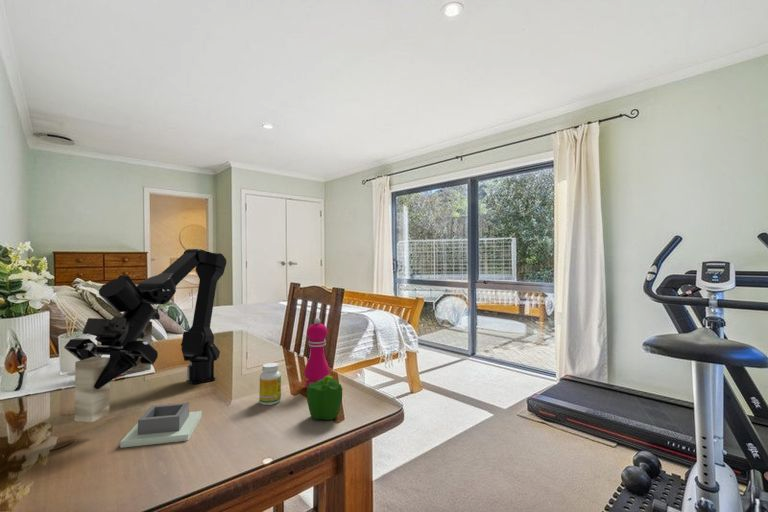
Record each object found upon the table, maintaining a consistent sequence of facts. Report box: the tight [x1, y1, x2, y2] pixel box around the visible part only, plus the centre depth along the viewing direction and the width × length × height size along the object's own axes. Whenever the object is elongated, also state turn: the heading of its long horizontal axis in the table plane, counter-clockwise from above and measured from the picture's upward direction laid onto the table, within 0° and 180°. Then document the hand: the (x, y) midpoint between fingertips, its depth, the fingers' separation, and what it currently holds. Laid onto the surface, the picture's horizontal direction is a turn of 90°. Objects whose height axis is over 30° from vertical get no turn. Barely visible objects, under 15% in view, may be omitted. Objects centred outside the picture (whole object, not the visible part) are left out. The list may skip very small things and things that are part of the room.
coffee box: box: [120, 320, 153, 376], centre depth 121 cm, size 9×6×16 cm
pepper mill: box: [303, 317, 330, 389], centre depth 106 cm, size 7×7×20 cm
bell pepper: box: [306, 374, 343, 421], centre depth 86 cm, size 8×8×10 cm
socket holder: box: [119, 402, 203, 449], centre depth 78 cm, size 12×12×4 cm
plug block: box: [74, 356, 111, 423], centre depth 76 cm, size 4×4×12 cm
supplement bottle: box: [258, 362, 282, 406], centre depth 95 cm, size 5×5×10 cm
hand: (86, 387), depth 74 cm, fingers closed on plug block, 4 cm apart
